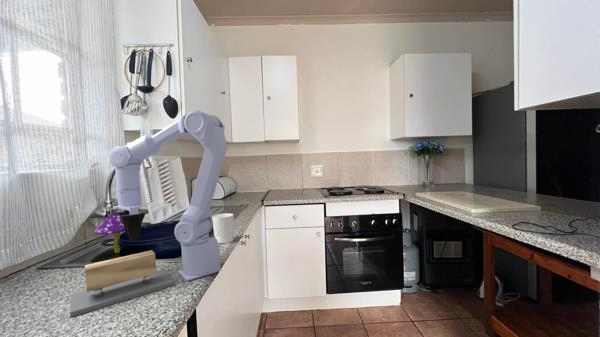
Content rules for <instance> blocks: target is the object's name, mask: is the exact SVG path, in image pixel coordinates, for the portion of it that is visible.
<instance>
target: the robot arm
mask: <svg viewBox="0 0 600 337" xmlns="http://www.w3.org/2000/svg"><path fill="white" fill-rule="evenodd" d="M225 127H226V126H225V125H224V124H223V122H222V121H221V119H220V118H219V117H218V116H216V115H213V114H209V113H205V112H203V111H201V110H197V109H196V110H191V111H188V113H185V114H182V115H181V116H180V117H179V118H178V119H177V120H176V121H174V122H172V123H171V124H170V125H168V126H166V127H164V128H163V129H161V130H159V131H158V132H157V133H155V134H151V133H142V134H140V135H139V138H137V139H135V140H134V141H129V142H126V144H125V145H124V146H121V145H120V146H119V145H117V146H114V147H113V148H112V149H111V150H110V152H109V155H108V160H109V162H110V165H111V166H113V167H114V169H115V170H114V171H115V180H116V181H115V183H116V194H117V204H118V205H115V206H113V207H112V208H113V210H120V211H116V212H117V213H118V214H119V216H120V217H121V219H122V222H123V225H124V228H125V231H124V232H125V233H126V235H127V236H128V237H129V240H130V241H133V240H139V239H140V237H141V236H140V235H141V229H142V224H143V221H144V219H145V216H146V212H141V213H140V211H141V209H140V208H142V207H143V204H144V203H143V202H142V200H143V199H142V189H141V188H142V187H141V176H140V172H141V166H142V164H143V162H144V161H145V160H146V159H148V158H150V157H153V156H154V155H156V154H158V153H159V152H161V150H162V146H164V145H166V144H168V143H170V142H172V141H174V140H177V139H179V138H181V137H183V136H185V135H190V136H192V137H193V138H195V139H196V140H197V141H198V142H199V144H200V145H201V147H202V148H203V150H204V152H203V156H202V160H201V162H200V167H199V171H198V173H197V176H196V180H195V184H194V188H193V191H192V195H191V199H190V203H189V206H188V207H187V208H186V210H184V212H183V214H182V215H181V217H180V220H179V222H178V223H177V224H175V227H174V230H173V231H174V232H173V233H174V237H175V238H176V240H177V242H179V243H180V244H179V245H180V247H181V261H182V262H181V263H182V269H180V270H179V271H178V273H179V275H180V276H181V277H182V278H184V280H185V281H187V282H188V281H192V280H195V279H197V278H198V279H199V278H201V277H205V276H208V275H212V274H215V273H218V272H221V271H222V268H221V256H220V245H219V244H218V241H217V239H216V238H215V236H213V237H211V236H210V234H209V233H210V232H211V231H212V229H213V221H212V216H213V211H212V210H211V206H212V202H213V199H214V196H215V192H216V189H217V185H218V181H219V179H220V175H221V170H222V169H223V168H222V167H223V164H224V161H225V157H226V154H227V150H228V145H227V141H226V137H225V136H226V135H225ZM121 210H122V211H121Z"/></svg>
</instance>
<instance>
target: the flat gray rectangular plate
mask: <svg viewBox="0 0 600 337" xmlns="http://www.w3.org/2000/svg"><path fill="white" fill-rule="evenodd" d="M174 286H175V283H174V280H173V279H172V278H171V277H170V275H169V274H168V273H167V271H166V270H165V269H163V268H162V269H159V270H156V273H155V274H152V275H148V276H144V277H141V278H137V279H134V280H130V281H126V282H123V283H119V284H115V285H112V286H108V287H104V288H101V289H97V290H93V291H90V292H87V289H85V290H81V291H77V292H73V293H71V295H70V308H69V309H70V310H69V315H70V317H69V318H73V317H76V316H79V315H82V314H86V313H89V312H92V311H95V310H99V309H101V308H104V307H109V306H111V305H114V304H118V303H122V302H125V301H127V300H128V301H129V300H131V299H133V298H137V297H140V296H143V295H144V296H145V295H147V294H151V293H154V292H157V291H160V290H163V289H167V288H169V287H174Z"/></svg>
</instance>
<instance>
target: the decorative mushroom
mask: <svg viewBox="0 0 600 337" xmlns="http://www.w3.org/2000/svg"><path fill="white" fill-rule="evenodd" d="M117 212H118V211H117V210H116V211H112V212H111V213H110V214H109V215H108V216H107V217H106V218H105V219H103V221H102V222H101V223H100V224H98V226H97V227H96V228H95V230H93V233H94V234H96V235H112V234H114V236H113V242H112V243H113V248H114V253H115V254H119V253H121V252H120V250H121V247H120V244H119V245H118V239H119V240H120V237H121V233H124V232H125V228H124V225H123V222H122V219H121V217H120V216H119V214H118V213H117ZM119 247H120V248H119Z"/></svg>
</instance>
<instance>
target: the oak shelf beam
mask: <svg viewBox="0 0 600 337" xmlns="http://www.w3.org/2000/svg"><path fill="white" fill-rule="evenodd" d="M156 262H157V261H156V253H155V252H154V251H153V250H148V251H147V250H146V251H142V252H139V253H134V254H133V253H132V254H129V255H125V256H119V257H116V258H115V257H114V258H111V259H107V260H102V261H97V262H94V263H89V264H86V265H84V273H85V274H84V276H85V285H86V286H85V287H86V290H87V292H90V291H93V290H97V289H101V288H104V287H108V286H112V285H115V284H119V283H123V282H126V281H130V280H134V279H137V278H141V277H144V276H148V275H152V274H155V273H156V271H157V263H156Z"/></svg>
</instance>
